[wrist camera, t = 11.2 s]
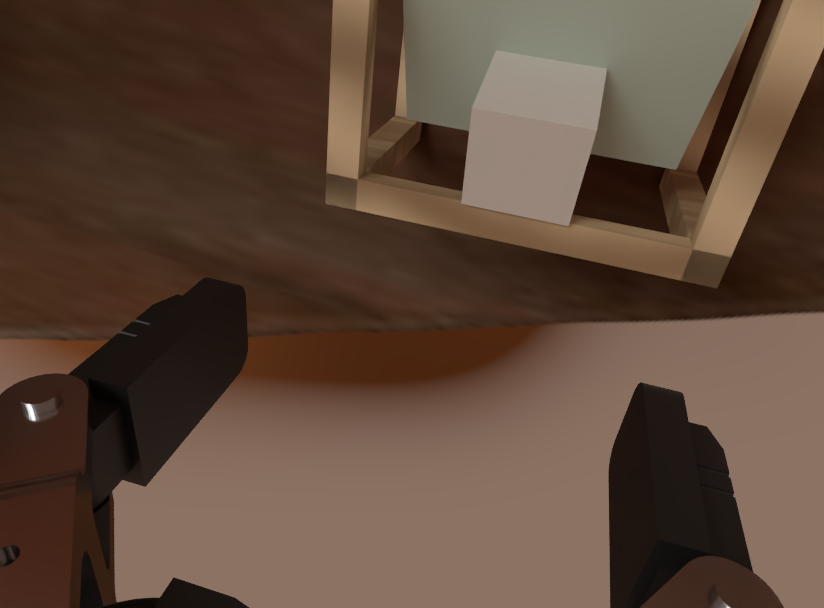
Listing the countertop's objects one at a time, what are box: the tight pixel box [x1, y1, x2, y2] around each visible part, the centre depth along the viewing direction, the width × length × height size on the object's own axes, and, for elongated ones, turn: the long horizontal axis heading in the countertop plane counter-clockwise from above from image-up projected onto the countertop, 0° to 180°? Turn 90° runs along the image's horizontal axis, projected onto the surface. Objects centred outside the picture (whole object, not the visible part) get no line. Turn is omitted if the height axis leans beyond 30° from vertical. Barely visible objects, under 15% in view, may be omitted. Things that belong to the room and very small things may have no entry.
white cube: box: [461, 51, 607, 226], centre depth 28 cm, size 5×5×5 cm
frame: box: [325, 0, 824, 288], centre depth 30 cm, size 16×19×13 cm
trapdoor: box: [403, 0, 759, 170], centre depth 27 cm, size 12×15×1 cm
